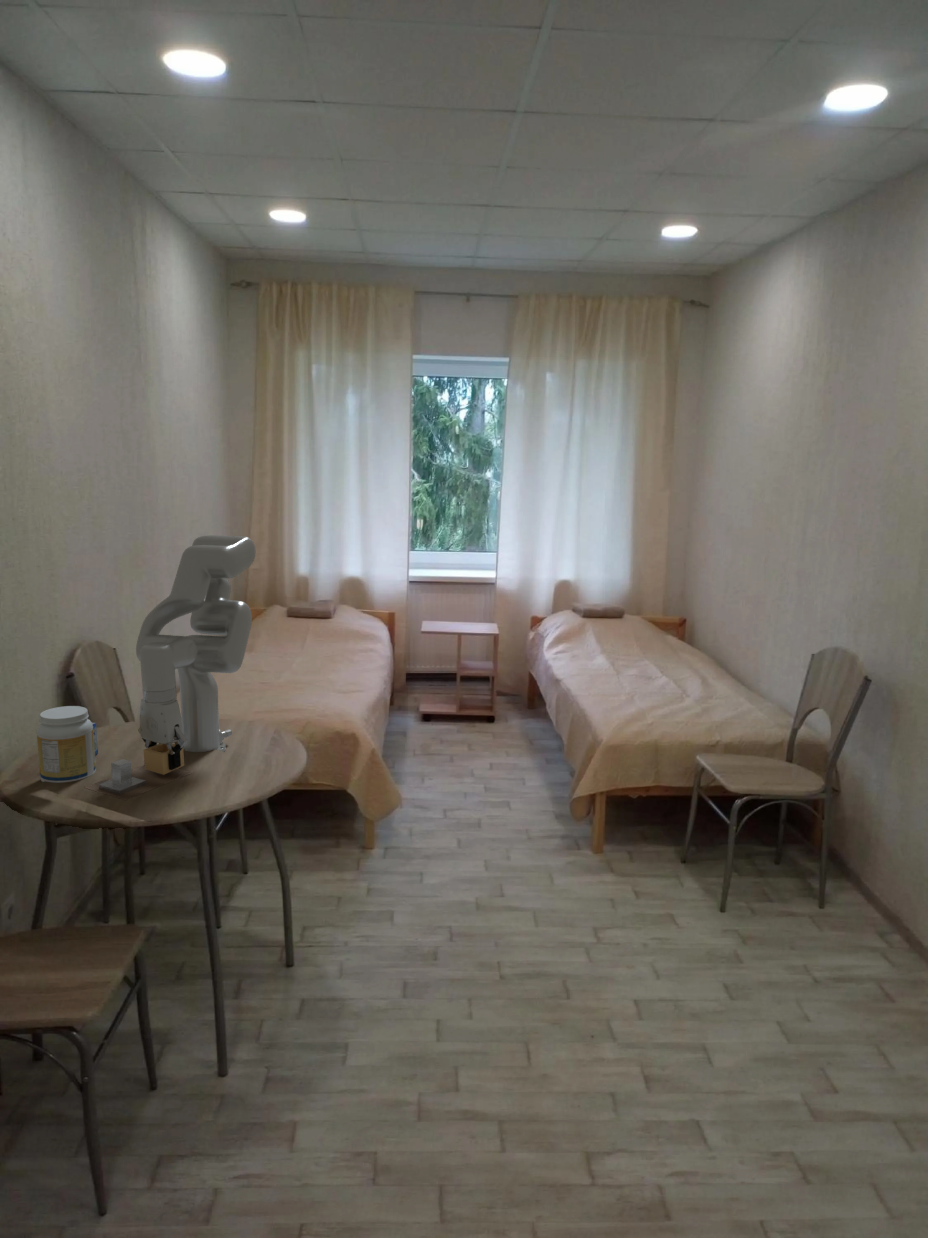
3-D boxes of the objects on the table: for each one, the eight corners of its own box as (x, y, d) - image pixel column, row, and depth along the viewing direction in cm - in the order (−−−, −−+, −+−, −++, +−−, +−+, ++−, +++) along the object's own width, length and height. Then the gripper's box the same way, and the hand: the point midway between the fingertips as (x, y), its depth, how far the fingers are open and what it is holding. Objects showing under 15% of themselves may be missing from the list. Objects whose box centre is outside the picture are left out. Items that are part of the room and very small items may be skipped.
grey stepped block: (124, 778, 196) (123, 754, 195) (145, 784, 193) (144, 760, 192) (98, 788, 190) (97, 763, 189) (120, 794, 187) (118, 769, 186)
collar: (165, 760, 204) (164, 741, 203) (184, 765, 201) (183, 746, 200) (144, 769, 199) (143, 749, 198) (163, 774, 196) (162, 755, 195)
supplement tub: (58, 769, 206) (53, 703, 203) (105, 771, 205) (101, 705, 202) (29, 787, 194) (24, 718, 191) (80, 789, 193) (75, 720, 190)
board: (153, 767, 208) (153, 761, 208) (193, 778, 202) (193, 772, 201) (84, 793, 191) (83, 787, 191) (125, 806, 184) (125, 800, 184)
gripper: (121, 692, 197) (127, 763, 201) (173, 705, 189) (177, 778, 193) (147, 684, 203) (152, 753, 207) (198, 696, 195) (202, 767, 199)
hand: (164, 764), depth 200 cm, fingers closed on collar, 6 cm apart
